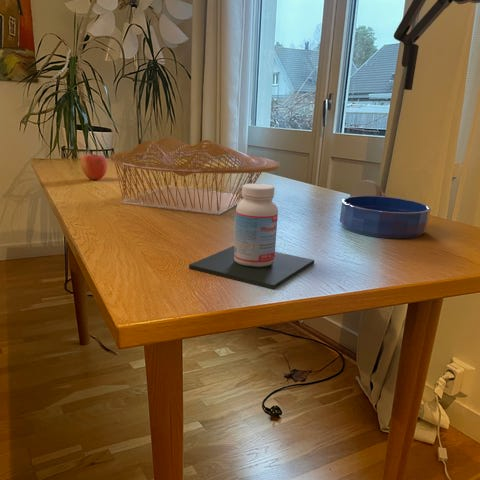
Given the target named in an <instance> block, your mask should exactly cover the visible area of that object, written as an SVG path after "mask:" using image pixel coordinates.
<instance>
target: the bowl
mask: <svg viewBox="0 0 480 480" xmlns="http://www.w3.org/2000/svg"><path fill="white" fill-rule="evenodd" d="M431 210H432V209H431V207H430V206H429V205H427V204H425V203H424V202H419V201H417V200H411V199H407V198H400V197H392V196H386V197H383V196H352V197H350V196H347V197H344V198H342V201H341V208H340V216H339V223H341V224H340V225H341V227H342V228H343V227H344V228H343V229H344V230H347V231H349V232H352V233H355V234H358V235H363V236H367V237H372V238H378V239H379V238H380V239H392V240H393V239H394V240H395V239H396V240H405V239H414V238H419V237H421V236H422V235H423V234H424V233H425V232H426V231H427V229H428V225H429V219H430V216H431Z"/></svg>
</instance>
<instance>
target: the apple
mask: <svg viewBox="0 0 480 480" xmlns="http://www.w3.org/2000/svg"><path fill="white" fill-rule="evenodd" d="M80 168H81V170H82V172H83V174H84V175H85V177H87V179H89V180H92V179H93V180H96V181H99V180H101V179H102V178H103V177H104V176H106V173H107V171H108V160H107V158H106V157H105V156H103V155H99V149H97V150H96V154H89V153H88V154H84V155H82V156H81V157H80Z"/></svg>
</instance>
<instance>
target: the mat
mask: <svg viewBox="0 0 480 480" xmlns="http://www.w3.org/2000/svg"><path fill="white" fill-rule="evenodd" d="M234 247H235V245H232V246H230V247H228V248H225V249H223V250H220V251H218V252H215V253H213V254H211V255H209V256H206V257H204V258H202V259H199V260H196V261H194V262H192V263H189V264H188V269H190V270H195V271H198V272H203V273H207V274H209V275H210V274H211V275H214V276H219V277H222V278H226V279H230V280H235V281H240V282H243V283H247V284H251V285H254V286H258V287H262V288H265V289H266V288H267V289H270V290H275V289H276V288H278V287H279V286H281V285H283V284H284V283H286V282H287V281H289V280H290V279H292V278H294V277H295V276H297V275H298V274H300V273H301V272H303V271H305V270H306V269H307V268H309V267H311V266H313V265H314V264H315V259H312V258H307V257H304V256H298V255H293V254H288V253H282V252H278V251H275V257H274V262H273V263H272V264H271V265H269V266H265V267H251V266H244V265H240V264H238V263H237V262H236V261H235V260H234ZM296 274H297V275H296ZM293 276H294V277H293Z"/></svg>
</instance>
